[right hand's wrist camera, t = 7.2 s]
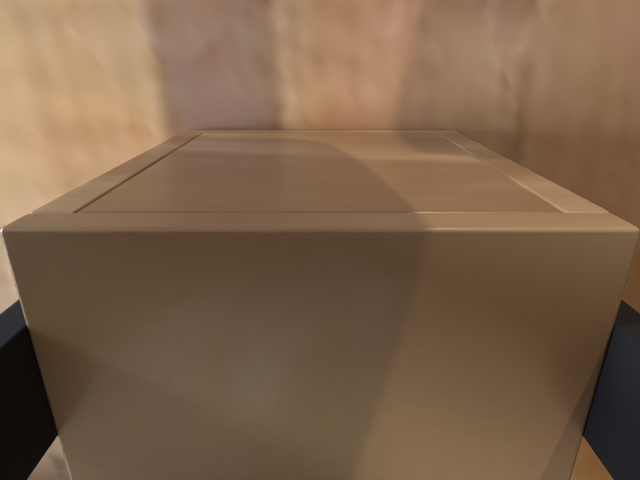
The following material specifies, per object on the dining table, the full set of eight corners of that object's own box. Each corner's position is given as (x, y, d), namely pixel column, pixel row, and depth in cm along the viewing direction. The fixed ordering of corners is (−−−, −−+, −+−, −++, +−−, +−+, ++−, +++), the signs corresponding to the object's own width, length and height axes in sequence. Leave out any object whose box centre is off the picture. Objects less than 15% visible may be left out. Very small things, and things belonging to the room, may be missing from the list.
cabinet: (415, 480, 26) (485, 782, 15) (224, 480, 26) (155, 782, 15) (454, 129, 19) (643, 228, 8) (186, 129, 19) (-4, 228, 8)
